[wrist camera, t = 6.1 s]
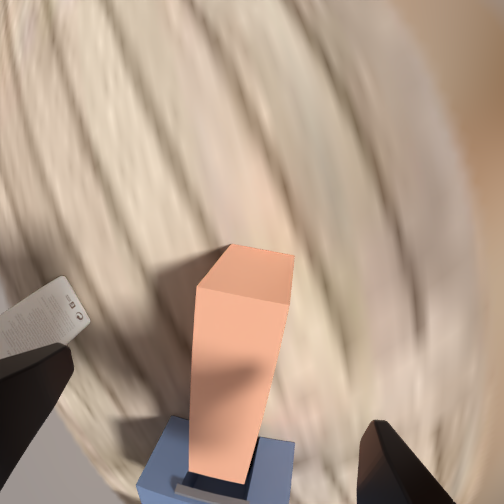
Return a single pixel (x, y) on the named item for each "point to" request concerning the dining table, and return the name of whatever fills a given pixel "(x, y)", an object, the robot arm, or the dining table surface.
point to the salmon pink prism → (235, 357)
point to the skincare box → (42, 319)
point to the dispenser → (208, 488)
